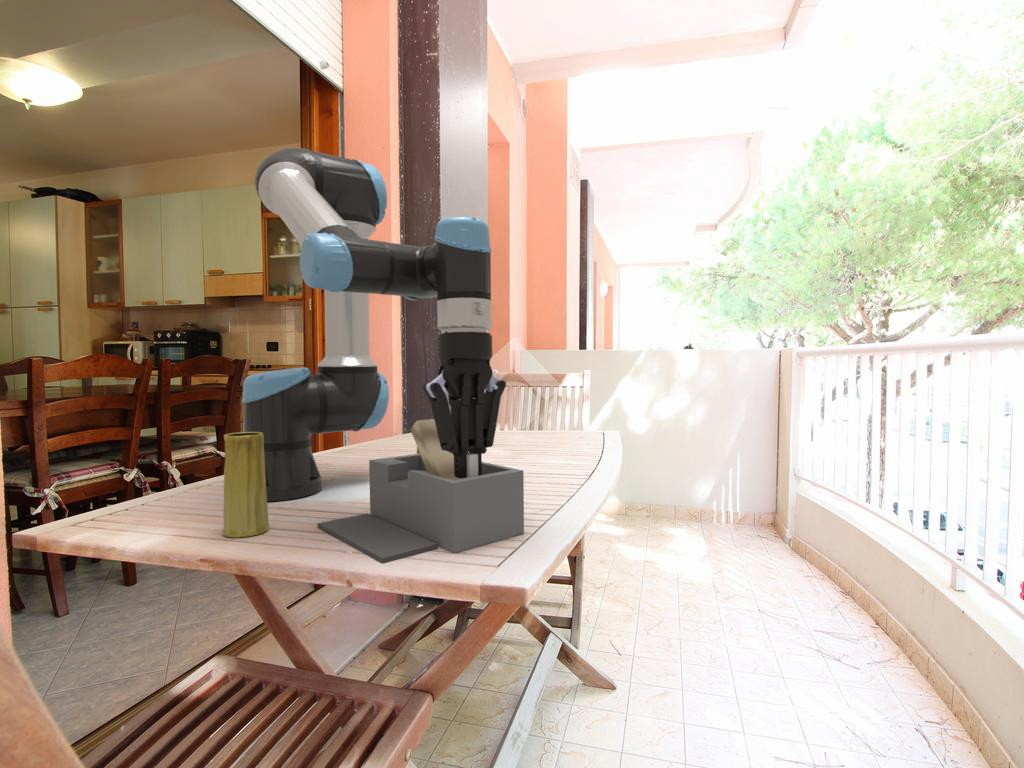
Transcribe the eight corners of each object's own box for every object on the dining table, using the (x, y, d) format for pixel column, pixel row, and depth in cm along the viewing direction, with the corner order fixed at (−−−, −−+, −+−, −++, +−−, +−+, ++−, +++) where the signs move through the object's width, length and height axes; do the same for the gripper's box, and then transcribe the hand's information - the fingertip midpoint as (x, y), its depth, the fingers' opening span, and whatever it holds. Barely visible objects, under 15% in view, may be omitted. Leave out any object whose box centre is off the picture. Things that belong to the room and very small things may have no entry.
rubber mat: (317, 527, 83) (317, 523, 83) (367, 517, 88) (367, 513, 88) (382, 563, 68) (382, 558, 68) (437, 548, 73) (437, 543, 73)
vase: (257, 523, 85) (255, 430, 85) (277, 530, 81) (274, 433, 81) (215, 532, 81) (212, 434, 80) (234, 541, 77) (231, 437, 76)
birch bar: (410, 429, 86) (416, 420, 84) (432, 427, 88) (439, 418, 87) (453, 536, 78) (462, 528, 76) (476, 530, 81) (484, 522, 79)
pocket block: (370, 516, 88) (369, 460, 88) (434, 503, 96) (433, 451, 96) (454, 553, 71) (453, 483, 71) (523, 533, 79) (523, 470, 78)
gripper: (440, 328, 71) (445, 513, 71) (517, 331, 79) (521, 496, 80) (410, 332, 76) (414, 503, 77) (485, 334, 85) (488, 488, 85)
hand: (468, 499), depth 78 cm, fingers closed
